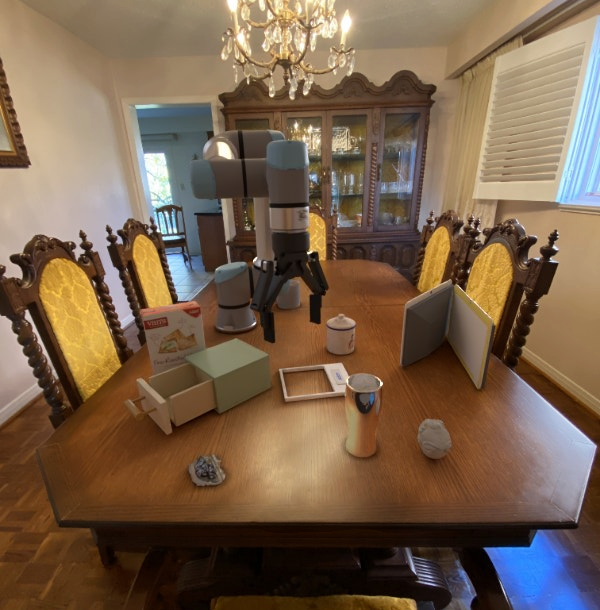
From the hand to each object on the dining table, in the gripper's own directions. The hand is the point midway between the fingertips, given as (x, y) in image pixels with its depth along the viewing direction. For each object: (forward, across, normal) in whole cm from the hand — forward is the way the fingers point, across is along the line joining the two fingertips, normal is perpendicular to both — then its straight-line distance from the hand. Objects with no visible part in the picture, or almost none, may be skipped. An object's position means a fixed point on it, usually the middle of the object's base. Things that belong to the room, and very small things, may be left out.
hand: (293, 331), depth 74 cm
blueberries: (+20, -25, -2) cm, 32 cm away
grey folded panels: (+20, +45, -12) cm, 51 cm away
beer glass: (+20, 0, -18) cm, 27 cm away
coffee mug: (+19, +48, +57) cm, 77 cm away
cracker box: (+20, -12, +33) cm, 40 cm away
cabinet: (+20, -6, +19) cm, 28 cm away
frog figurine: (+20, +8, -30) cm, 37 cm away
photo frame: (+20, +11, +4) cm, 23 cm away
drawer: (+19, -21, +19) cm, 34 cm away
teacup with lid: (+20, +33, +13) cm, 40 cm away
